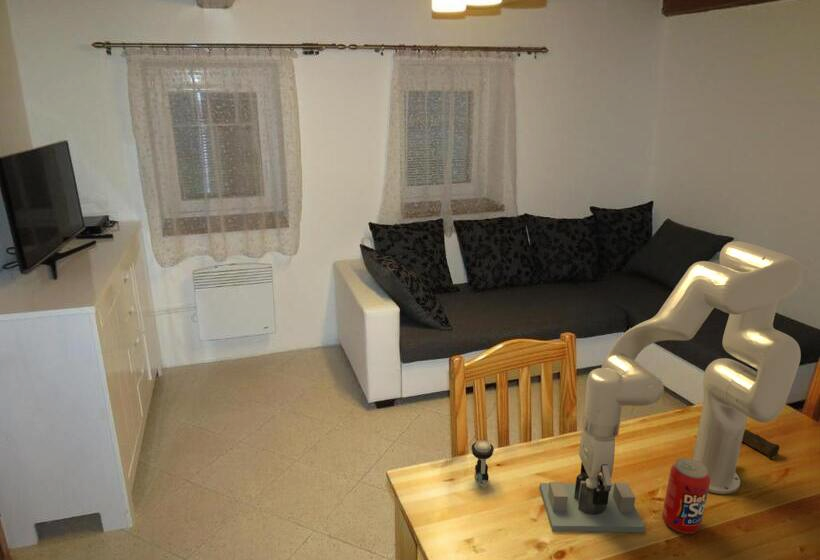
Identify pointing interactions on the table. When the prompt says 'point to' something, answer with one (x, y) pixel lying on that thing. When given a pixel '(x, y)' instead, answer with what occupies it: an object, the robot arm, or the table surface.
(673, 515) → the soda can
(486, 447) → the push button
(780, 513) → the table surface
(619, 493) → the shaft stand
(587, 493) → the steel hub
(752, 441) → the dark brown bar
